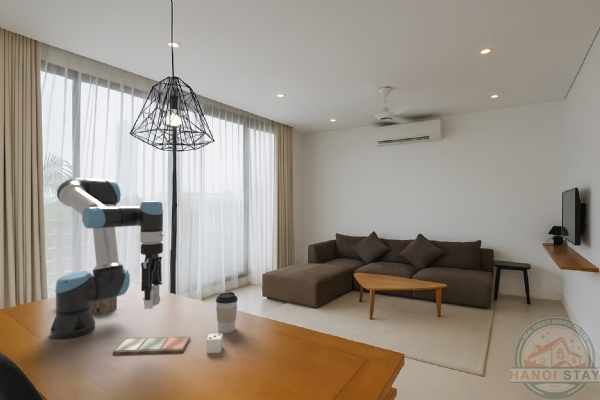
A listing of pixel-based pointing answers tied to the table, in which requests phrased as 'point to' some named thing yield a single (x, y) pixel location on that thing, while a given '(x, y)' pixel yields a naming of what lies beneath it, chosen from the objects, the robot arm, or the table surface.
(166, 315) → the table surface
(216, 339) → the die
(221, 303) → the coffee cup
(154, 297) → the white lumpy piece
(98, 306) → the block tower
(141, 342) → the game board
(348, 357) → the table surface
